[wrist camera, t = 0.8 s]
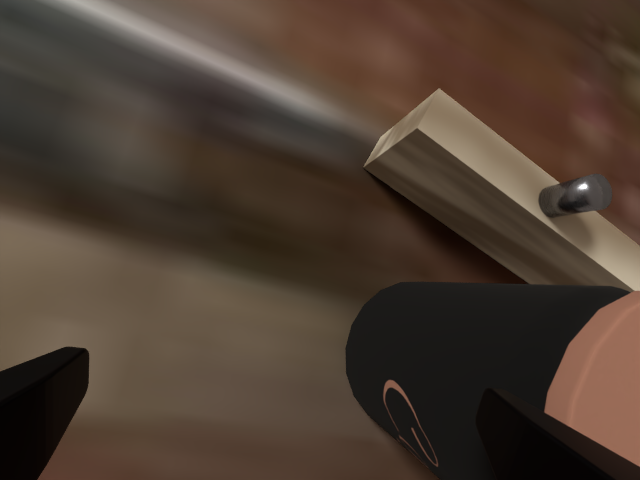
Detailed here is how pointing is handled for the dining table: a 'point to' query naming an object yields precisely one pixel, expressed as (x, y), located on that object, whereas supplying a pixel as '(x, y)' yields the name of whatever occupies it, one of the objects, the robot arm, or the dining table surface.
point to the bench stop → (504, 199)
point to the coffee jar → (496, 364)
